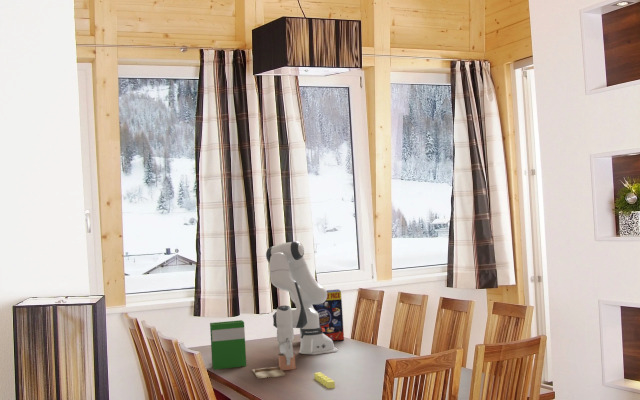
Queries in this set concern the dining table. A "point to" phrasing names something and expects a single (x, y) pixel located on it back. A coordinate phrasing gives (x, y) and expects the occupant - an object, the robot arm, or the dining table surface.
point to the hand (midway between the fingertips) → (286, 363)
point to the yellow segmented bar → (324, 380)
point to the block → (283, 362)
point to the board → (268, 372)
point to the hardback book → (228, 344)
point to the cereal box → (331, 315)
